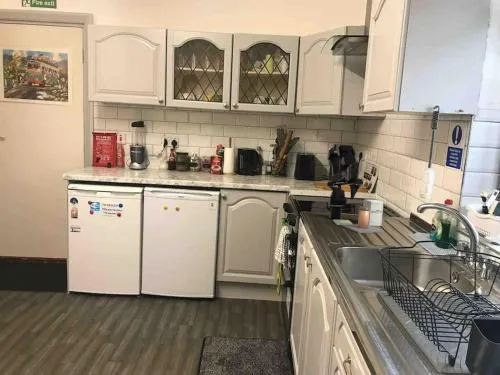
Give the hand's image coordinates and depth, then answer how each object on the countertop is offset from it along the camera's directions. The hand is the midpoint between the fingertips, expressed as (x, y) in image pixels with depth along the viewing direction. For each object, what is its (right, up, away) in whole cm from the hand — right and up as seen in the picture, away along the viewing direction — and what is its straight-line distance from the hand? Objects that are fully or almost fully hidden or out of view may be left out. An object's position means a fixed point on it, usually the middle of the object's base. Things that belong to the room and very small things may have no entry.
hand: (344, 200), depth 217 cm
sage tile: (+1, -12, +8) cm, 15 cm away
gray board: (+8, -14, -3) cm, 17 cm away
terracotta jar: (+8, -13, -3) cm, 16 cm away
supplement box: (+16, -13, +9) cm, 22 cm away
